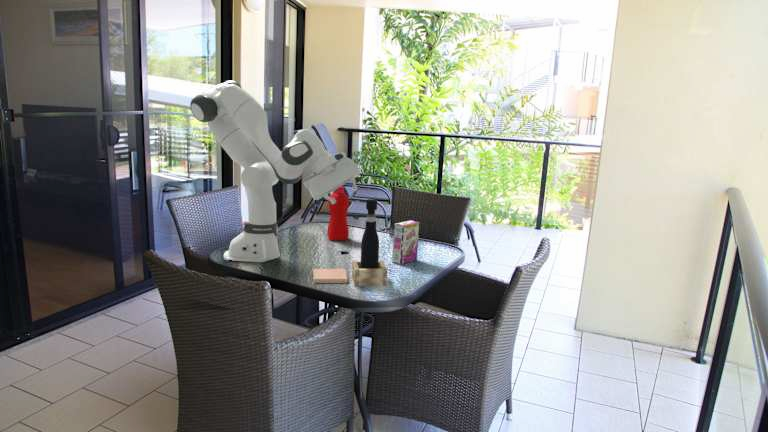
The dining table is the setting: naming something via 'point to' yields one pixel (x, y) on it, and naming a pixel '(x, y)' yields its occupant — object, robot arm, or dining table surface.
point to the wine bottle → (370, 239)
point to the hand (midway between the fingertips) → (345, 196)
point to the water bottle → (338, 216)
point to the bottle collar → (369, 275)
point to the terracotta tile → (329, 276)
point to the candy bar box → (405, 242)
